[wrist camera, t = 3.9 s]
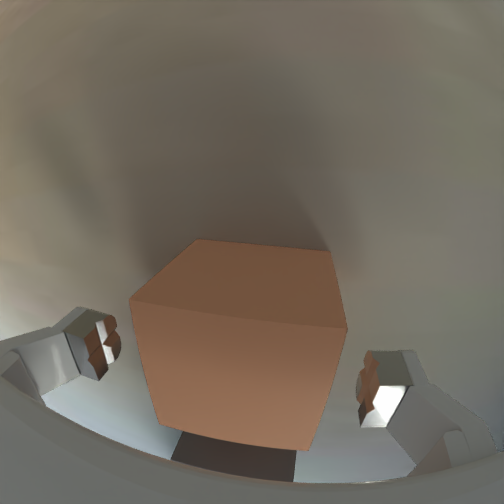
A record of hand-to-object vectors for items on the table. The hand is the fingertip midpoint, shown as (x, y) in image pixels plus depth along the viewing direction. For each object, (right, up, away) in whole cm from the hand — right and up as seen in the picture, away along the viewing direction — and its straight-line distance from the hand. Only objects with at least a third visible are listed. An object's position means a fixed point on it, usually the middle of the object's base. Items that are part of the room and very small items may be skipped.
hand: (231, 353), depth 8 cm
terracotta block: (+1, +1, +3) cm, 3 cm away
